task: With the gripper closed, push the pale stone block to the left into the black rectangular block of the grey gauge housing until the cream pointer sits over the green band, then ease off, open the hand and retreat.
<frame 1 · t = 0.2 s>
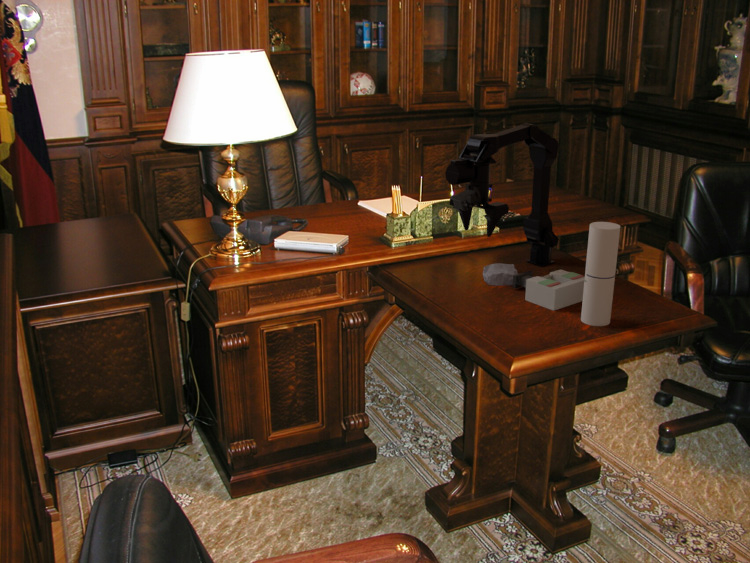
hand: (477, 233, 214), 14 cm above the table, tool pointing down, fingers open, 9 cm apart
black rectangular block: (533, 281, 206), point 3 cm above the table, slide at 0.0 cm
stone block: (498, 280, 218), on the table
cylindrical container: (595, 321, 187), on the table
gauge housing: (556, 299, 201), on the table
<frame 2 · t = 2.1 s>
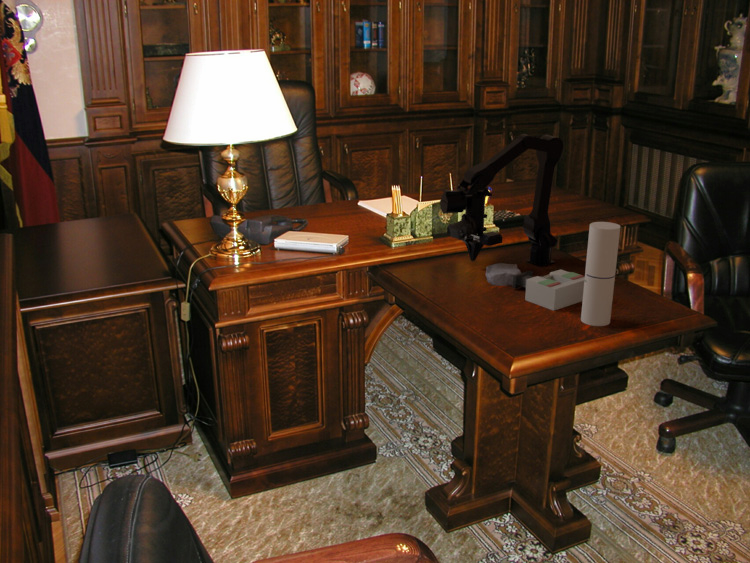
hand: (472, 260, 225), 3 cm above the table, tool pointing down, fingers closed
nothing on the table moved.
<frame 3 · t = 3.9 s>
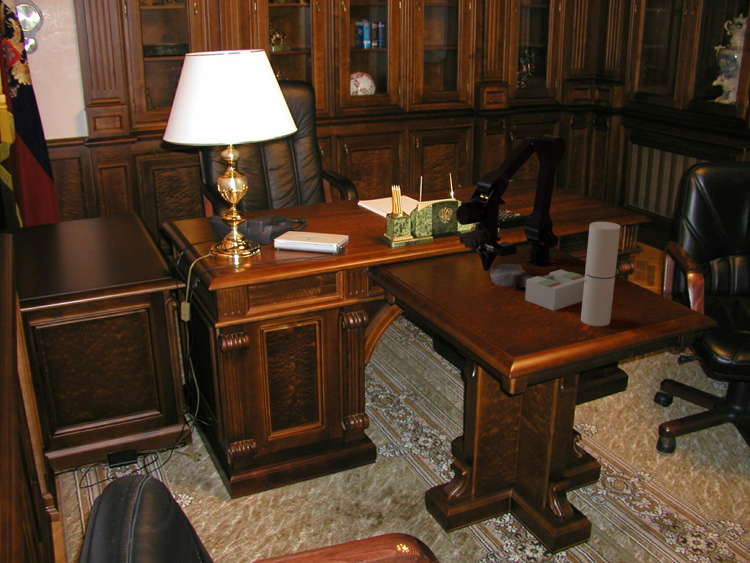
hand: (486, 270, 221), 1 cm above the table, tool pointing down, fingers closed
stone block: (506, 280, 217), on the table, touching gripper
everything else where it was.
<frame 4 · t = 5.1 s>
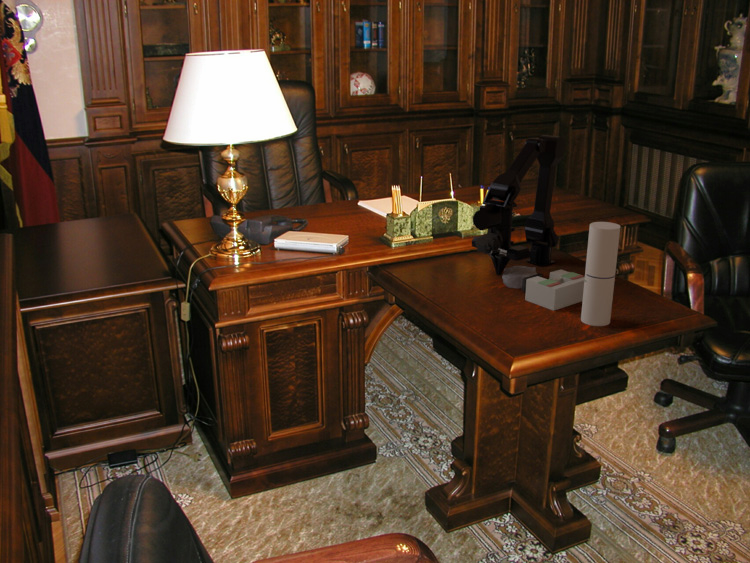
hand: (498, 275, 217), 1 cm above the table, tool pointing down, fingers closed
black rectangular block: (543, 284, 204), point 3 cm above the table, slide at 3.5 cm
stone block: (518, 283, 216), on the table
everything else where it was.
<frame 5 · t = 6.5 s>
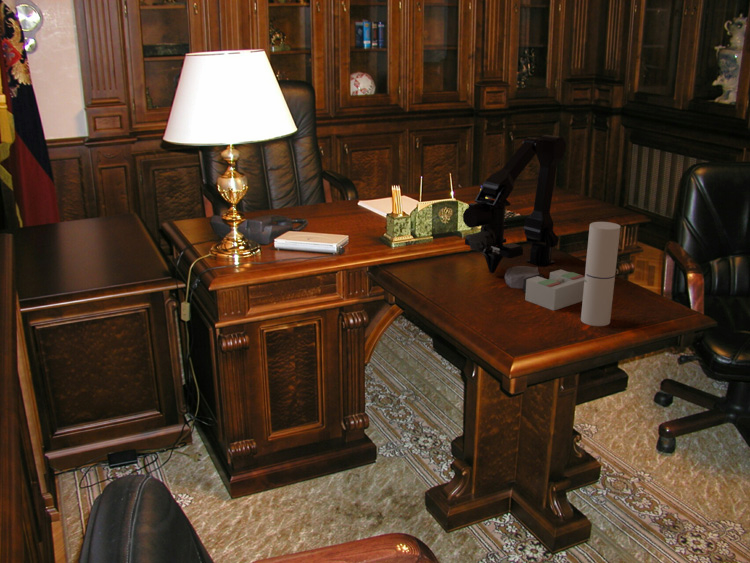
hand: (491, 272, 219), 1 cm above the table, tool pointing down, fingers closed
black rectangular block: (544, 284, 203), point 3 cm above the table, slide at 3.9 cm
everything else where it was.
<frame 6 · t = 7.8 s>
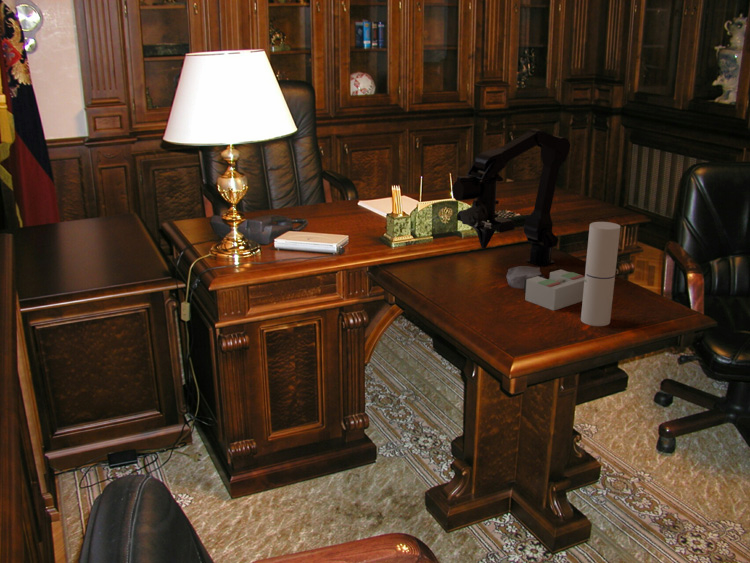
hand: (483, 248, 220), 8 cm above the table, tool pointing down, fingers closed
black rectangular block: (545, 285, 203), point 3 cm above the table, slide at 4.3 cm
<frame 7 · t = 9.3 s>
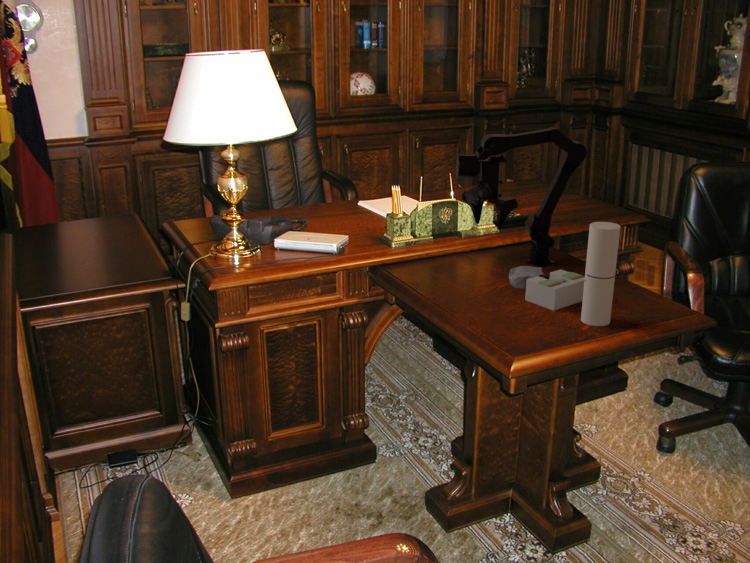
hand: (488, 226, 228), 12 cm above the table, tool pointing down, fingers open, 9 cm apart
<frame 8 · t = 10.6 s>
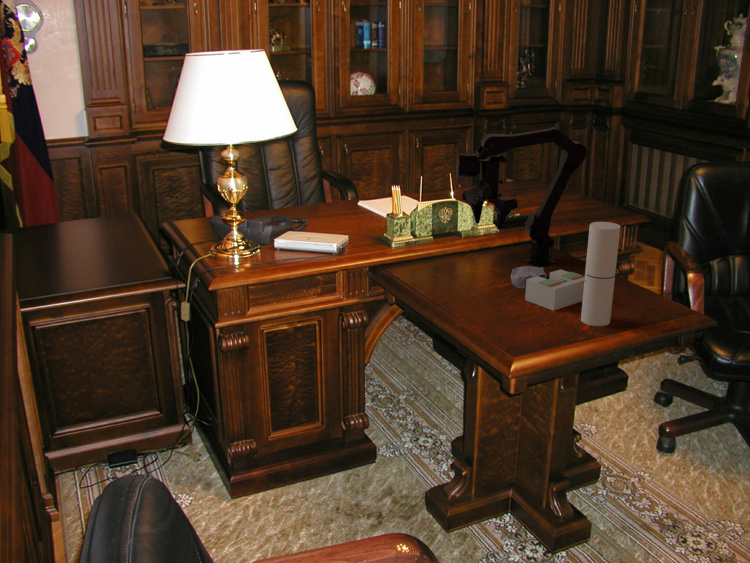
hand: (487, 226, 228), 12 cm above the table, tool pointing down, fingers open, 9 cm apart
at the end: black rectangular block slide at 4.7 cm; stone block moved 8.5 cm from its start; the gripper is holding nothing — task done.
